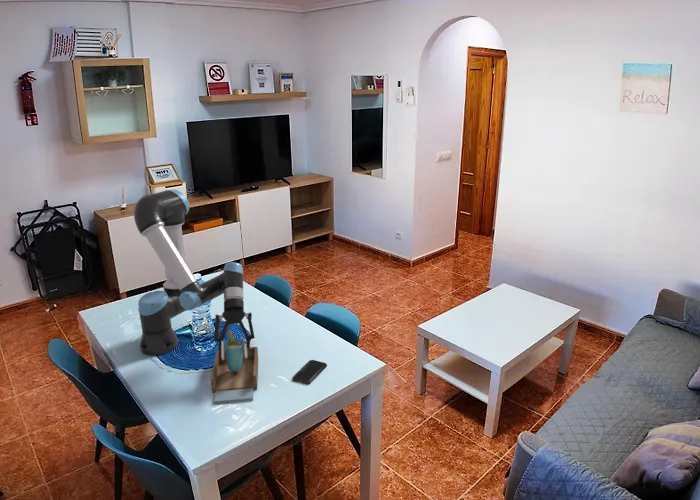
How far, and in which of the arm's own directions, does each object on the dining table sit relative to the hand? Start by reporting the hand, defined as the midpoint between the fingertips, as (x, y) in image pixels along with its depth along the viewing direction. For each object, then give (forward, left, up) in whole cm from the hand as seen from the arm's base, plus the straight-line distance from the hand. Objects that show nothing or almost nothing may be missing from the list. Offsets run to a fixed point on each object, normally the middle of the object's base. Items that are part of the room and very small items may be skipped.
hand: (234, 358), depth 189 cm
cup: (0, +3, -7) cm, 8 cm away
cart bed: (0, +4, -10) cm, 10 cm away
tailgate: (0, -7, -10) cm, 12 cm away
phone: (+28, +2, -10) cm, 30 cm away
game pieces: (-9, +58, -10) cm, 59 cm away
